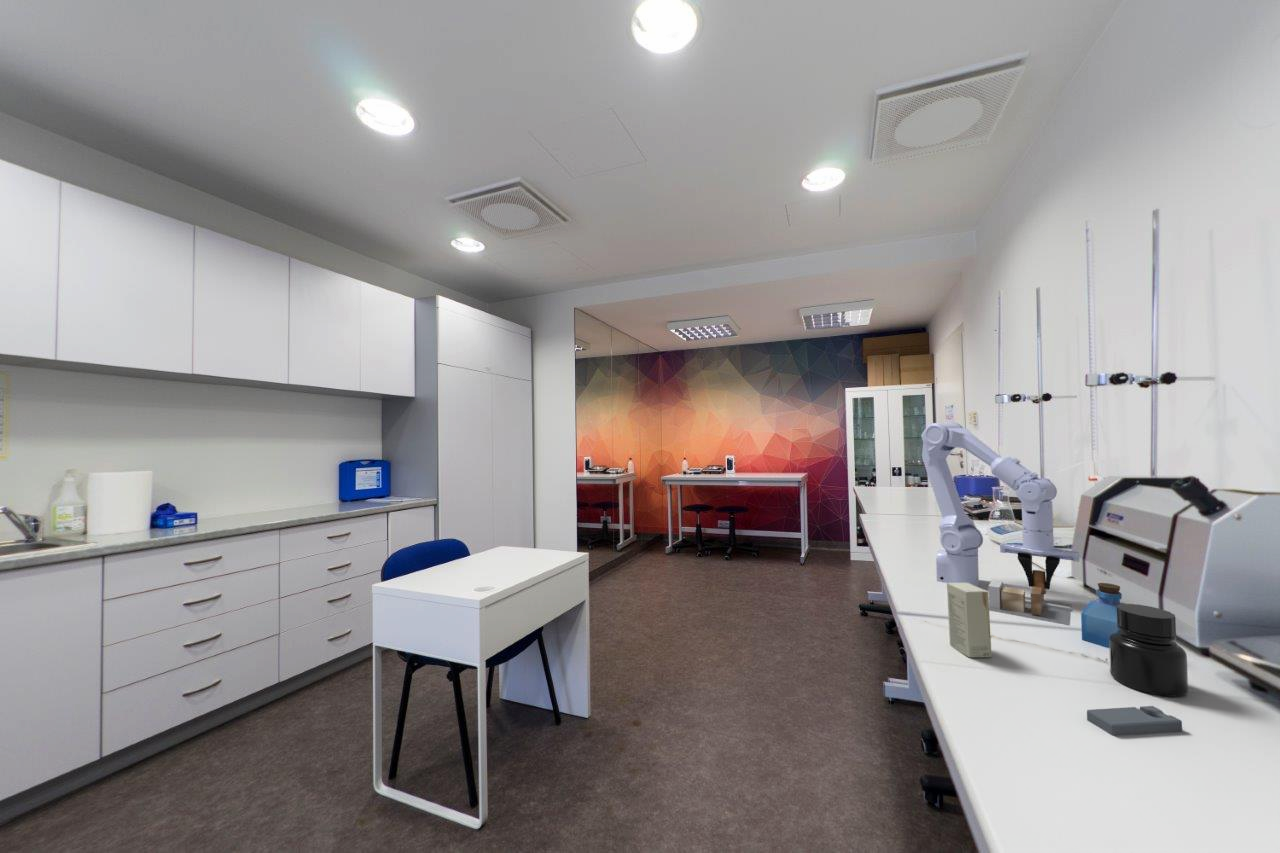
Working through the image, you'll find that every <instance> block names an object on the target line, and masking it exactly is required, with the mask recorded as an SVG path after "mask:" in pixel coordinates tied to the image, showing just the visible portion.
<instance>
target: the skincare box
mask: <svg viewBox="0 0 1280 853" xmlns="http://www.w3.org/2000/svg"><path fill="white" fill-rule="evenodd" d="M946 589H947V609H948V611H947V612H948V614H947V615H948V634H949V645H950V646H951V647H953V649H954V648H955V649H956V650H957V651H959V652H960V653H962V654H963V655H965V656H966V657H968V658H992V656H993V655H992V639H991V622H990V621H991V620H990V617H991V616H990V611H989V590H988V591H987V590H985V589H983V588H981V587H979V586H974V585H972V584H970V583H946Z"/></svg>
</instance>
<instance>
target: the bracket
mask: <svg viewBox="0 0 1280 853" xmlns="http://www.w3.org/2000/svg"><path fill="white" fill-rule="evenodd" d="M1086 721H1087V722H1089V723H1091V724H1093V725H1094V726H1096V727H1097V728H1098V729H1101V730H1102V731H1104V732H1105V733H1107V734H1109V735H1111V736H1113V737H1119V736H1134V735H1135V736H1137V735H1152V734H1166V733H1167V734H1168V733H1170V734H1171V733H1182V732H1183V721H1182V720H1181V719H1179V718H1177V717H1176V716H1173V715H1167V714H1166V713H1165V712H1164V711H1163V710H1161V709H1159V708H1157V707H1156V706H1154V705H1146V706H1145V705H1144V706H1140V707H1139V708H1138V707H1135V706H1130V707H1113V708H1111V707H1110V708H1097V709H1093V708H1092V709H1087V710H1086Z"/></svg>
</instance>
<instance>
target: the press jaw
mask: <svg viewBox="0 0 1280 853" xmlns="http://www.w3.org/2000/svg"><path fill="white" fill-rule="evenodd" d="M1032 574H1033V587H1031V591H1030V598H1031V614H1034V615H1039V616H1041V612H1042V605H1043V601H1044V600H1045V595H1046V594H1047V589H1046V587H1045V584H1046V571H1044V570H1039V569H1032Z"/></svg>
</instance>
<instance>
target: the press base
mask: <svg viewBox="0 0 1280 853" xmlns="http://www.w3.org/2000/svg"><path fill="white" fill-rule="evenodd" d="M1003 584H1004V582H1003V581H1002V580H997V579H992V580H991V581H990V583H989V584H988V597H989V612H996V613H1001V614H1005V615H1010V616H1017V617H1022V618H1028V619H1032V620H1037V621H1042V622H1043V621H1044V622H1049V623H1053V624H1058V625H1059V624H1060V625H1064V626H1069V627H1070V624H1071V612H1072V603H1065V602H1059V601H1053V600H1048V599H1044V601H1043V605H1042V612H1041V616H1039V615H1034V614H1031V596H1029V597H1028V596H1025V610H1024V613H1023V612H1018V611H1012V610H1007V609H1002V604H1001V590H1002V588H1003V587H1004V585H1003Z"/></svg>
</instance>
